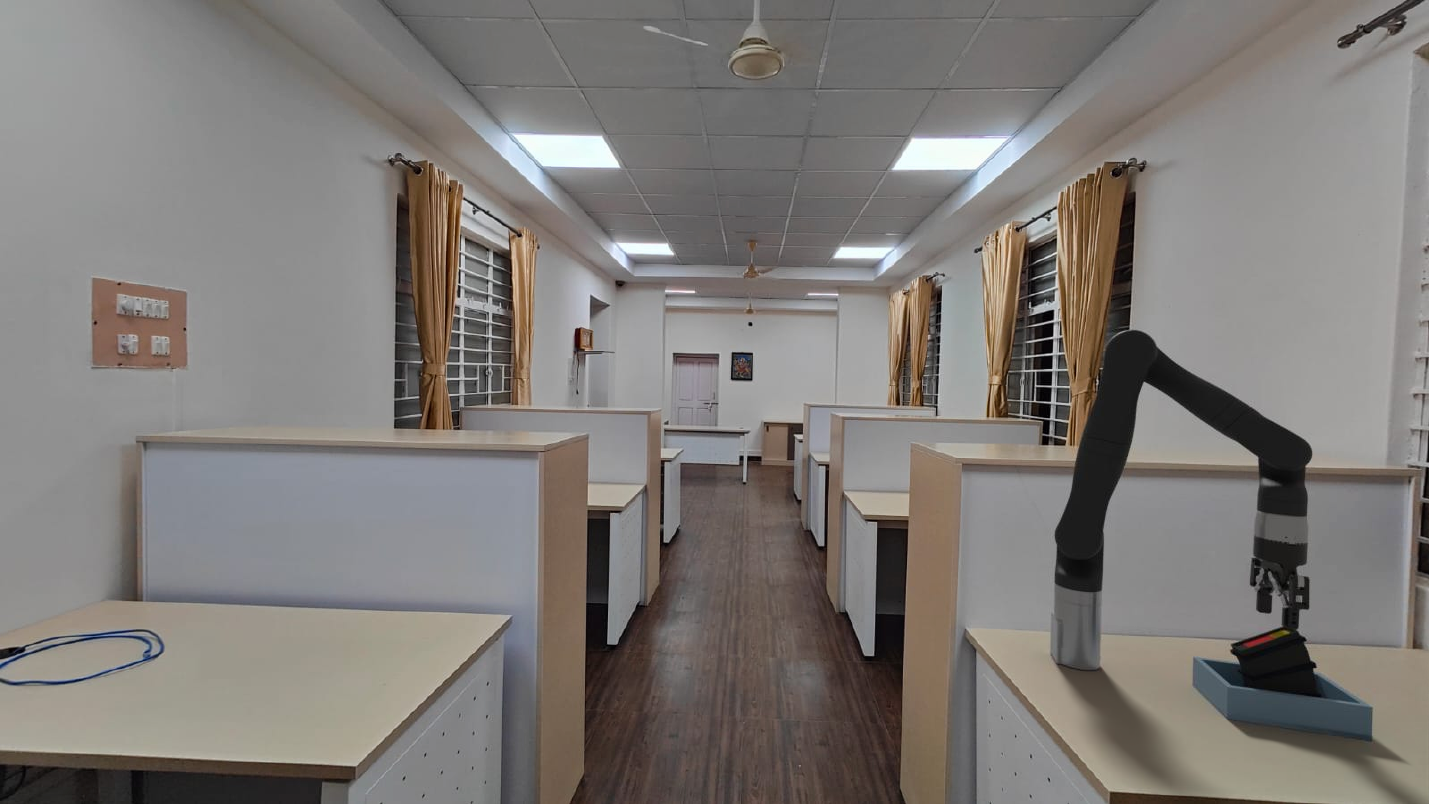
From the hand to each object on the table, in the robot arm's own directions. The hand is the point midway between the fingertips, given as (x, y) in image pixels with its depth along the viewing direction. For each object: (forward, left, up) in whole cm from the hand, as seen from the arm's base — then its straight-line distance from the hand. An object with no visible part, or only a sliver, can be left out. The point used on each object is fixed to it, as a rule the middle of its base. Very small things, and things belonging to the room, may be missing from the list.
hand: (1276, 620), depth 114 cm
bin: (0, 0, -18) cm, 18 cm away
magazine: (0, 0, -17) cm, 17 cm away
